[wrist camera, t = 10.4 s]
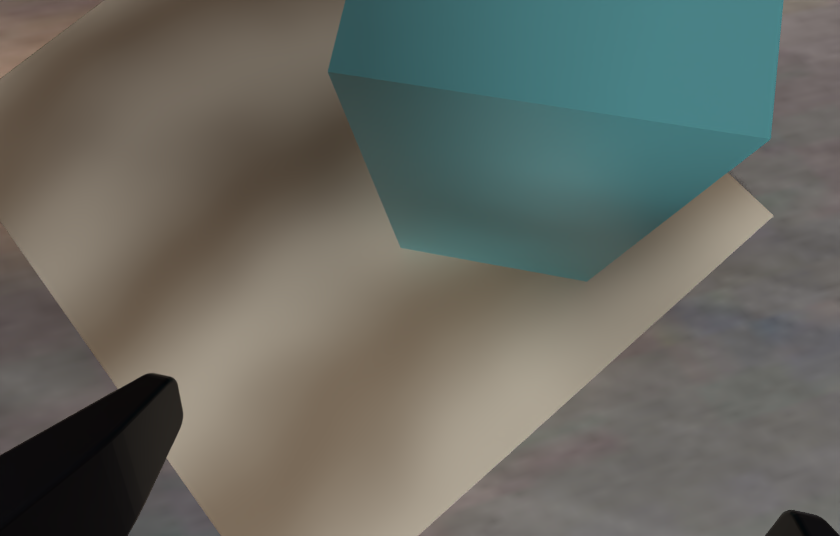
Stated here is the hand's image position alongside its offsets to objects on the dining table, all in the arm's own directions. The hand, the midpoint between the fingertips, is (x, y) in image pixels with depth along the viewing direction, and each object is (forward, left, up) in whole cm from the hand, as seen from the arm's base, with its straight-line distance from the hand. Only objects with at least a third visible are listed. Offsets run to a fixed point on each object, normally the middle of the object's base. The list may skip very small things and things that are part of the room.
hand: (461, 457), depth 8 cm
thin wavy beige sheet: (+8, -2, -9) cm, 12 cm away
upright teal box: (+5, -6, -8) cm, 11 cm away
